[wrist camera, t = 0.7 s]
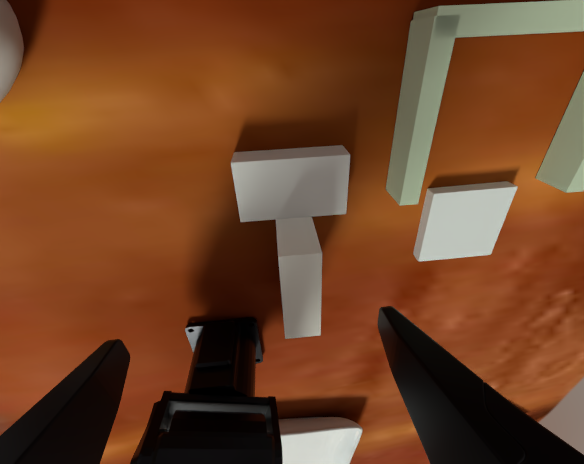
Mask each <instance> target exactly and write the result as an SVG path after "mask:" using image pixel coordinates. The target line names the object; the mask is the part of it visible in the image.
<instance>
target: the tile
mask: <svg viewBox="0 0 584 464" xmlns="http://www.w3.org/2000/svg"><path fill="white" fill-rule="evenodd" d="M516 190H517V186H516V185H514V184H512V183H510V182H508V181H504V182H493V183H482V184H471V185H460V186H449V187H438V188H427V193H426V198H425V202H424V207H423V211H422V216H421V220H420V225H419V230H418V234H417V239H416V243H415V248H414V252H413V255H414V256H415V257H416V259H417V260H418V261H429V260H440V259H450V258H461V257H471V256H482V255H491V253H492V250H493V248H494V245H495V242H496V240H497V237H498V235H499V232H500V230H501V227H502V225H503V222H504V220H505V217H506V215H507V212H508V210H509V207H510V205H511V202H512V200H513V197H514V195H515V192H516Z"/></svg>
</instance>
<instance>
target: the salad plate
mask: <svg viewBox="0 0 584 464" xmlns="http://www.w3.org/2000/svg"><path fill="white" fill-rule="evenodd" d="M278 420H279V428H280V435H281V442H282V456H283V464H350V461H351V458H352V456H353V453H354V451H355V449H356V447H357V444H358V442H359V440H360V437H361V434H362V427H361V426H360V425H358V424H357V423H356V422H354V421H352V420H349V419H346V418H341V417H311V418H293V419H278Z"/></svg>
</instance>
